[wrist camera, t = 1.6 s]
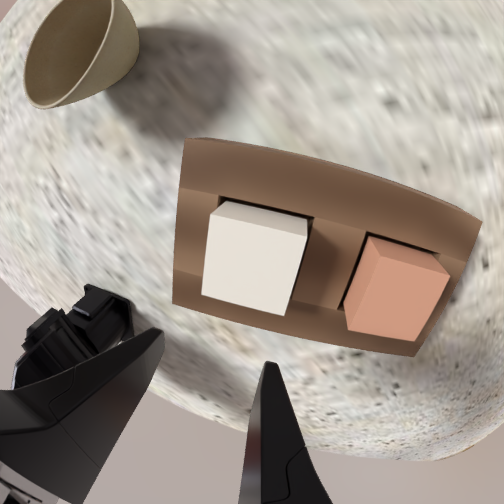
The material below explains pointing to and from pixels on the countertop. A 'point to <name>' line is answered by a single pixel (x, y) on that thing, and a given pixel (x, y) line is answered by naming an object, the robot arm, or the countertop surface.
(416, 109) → the countertop surface
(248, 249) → the cream key
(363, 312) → the terracotta key
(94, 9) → the flower pot
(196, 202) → the key console
